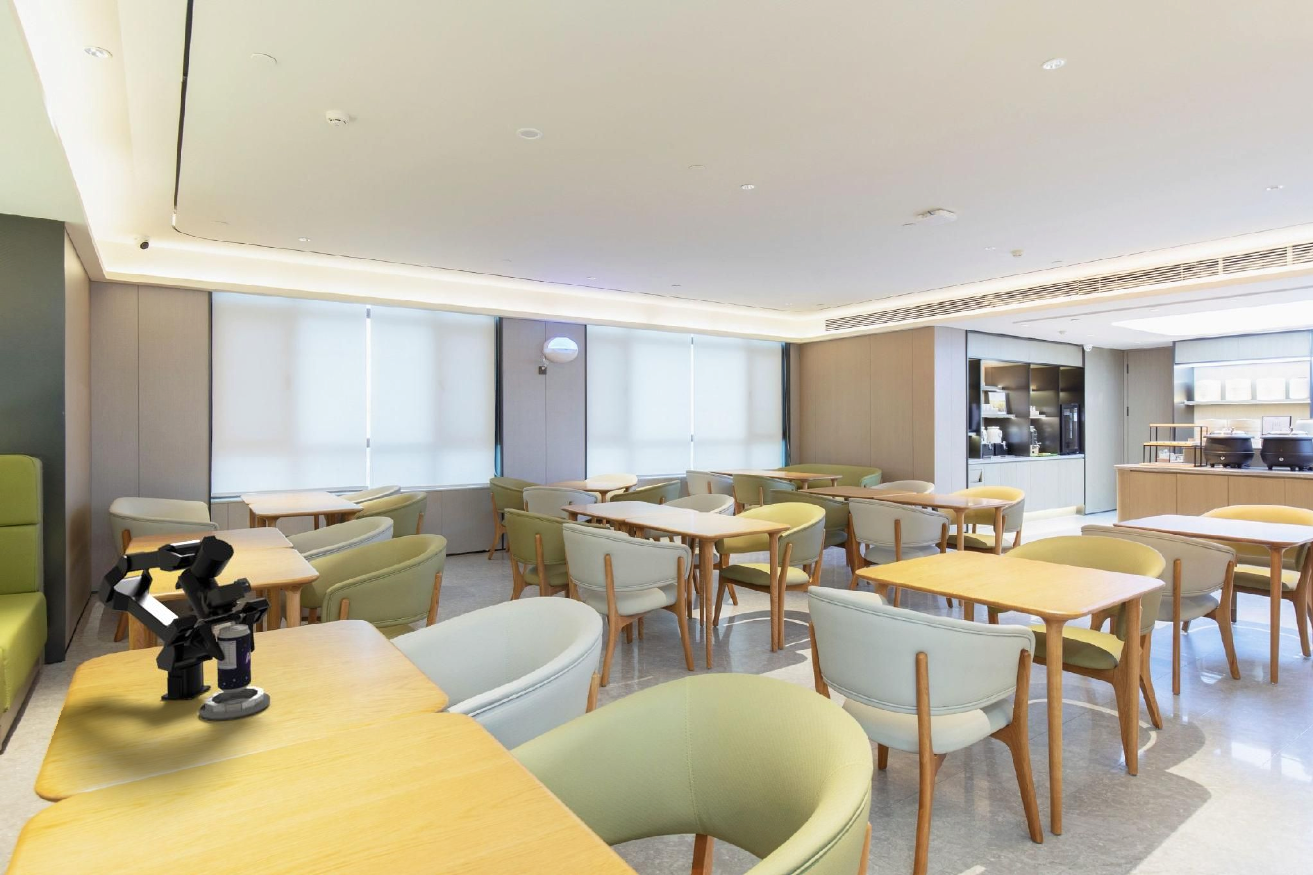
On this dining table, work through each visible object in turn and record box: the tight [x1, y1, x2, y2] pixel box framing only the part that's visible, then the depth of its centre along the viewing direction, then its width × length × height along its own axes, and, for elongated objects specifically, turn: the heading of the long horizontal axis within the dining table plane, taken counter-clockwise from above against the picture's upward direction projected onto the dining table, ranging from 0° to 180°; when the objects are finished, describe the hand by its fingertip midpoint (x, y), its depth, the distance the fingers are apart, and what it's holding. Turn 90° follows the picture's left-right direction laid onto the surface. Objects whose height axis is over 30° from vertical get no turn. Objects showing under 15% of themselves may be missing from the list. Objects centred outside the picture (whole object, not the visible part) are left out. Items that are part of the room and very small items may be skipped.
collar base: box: [198, 686, 271, 722], centre depth 143 cm, size 12×12×2 cm
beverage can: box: [216, 624, 252, 693], centre depth 142 cm, size 6×6×12 cm
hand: (238, 655), depth 142 cm, fingers closed on beverage can, 6 cm apart
